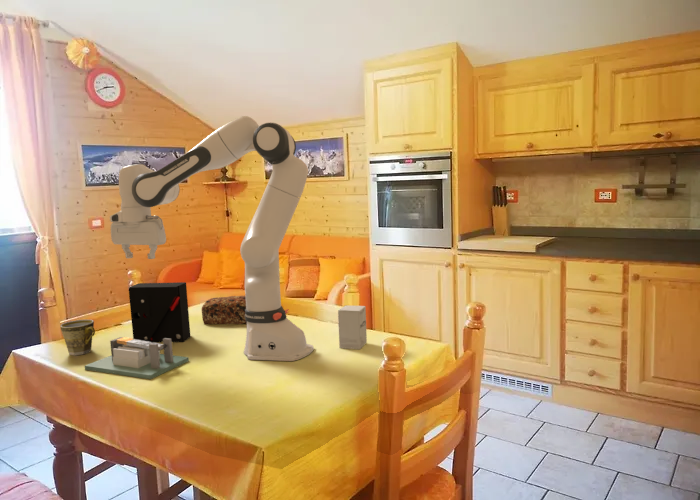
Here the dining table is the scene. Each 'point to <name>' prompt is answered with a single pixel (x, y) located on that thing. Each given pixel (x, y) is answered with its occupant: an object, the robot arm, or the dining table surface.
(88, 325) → the ceramic cup
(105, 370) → the board
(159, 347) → the grey flat bar
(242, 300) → the bread
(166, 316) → the electrical component
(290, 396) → the dining table surface
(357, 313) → the supplement box
